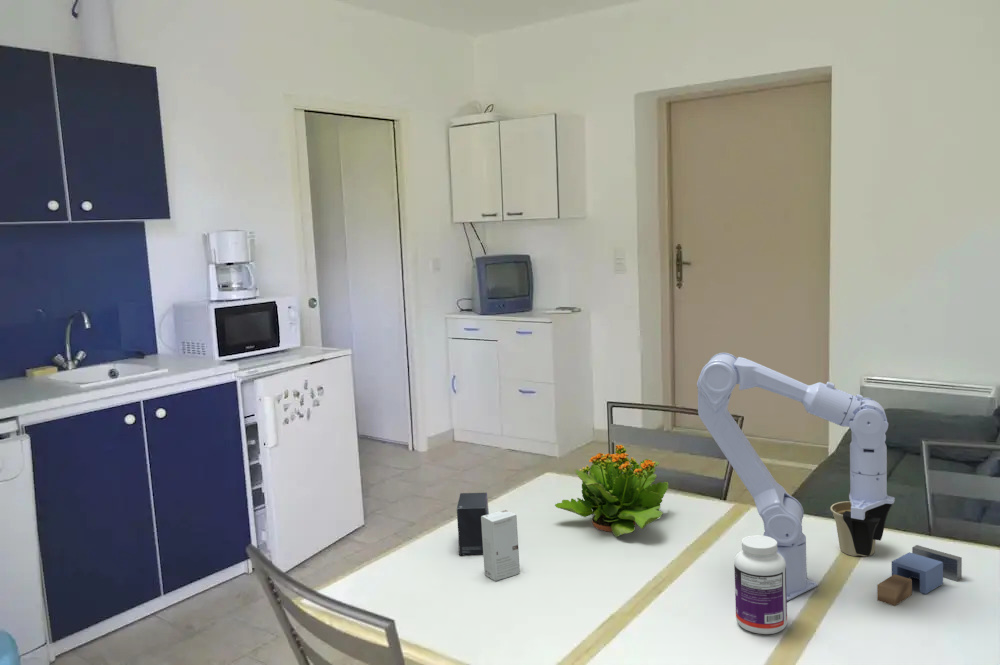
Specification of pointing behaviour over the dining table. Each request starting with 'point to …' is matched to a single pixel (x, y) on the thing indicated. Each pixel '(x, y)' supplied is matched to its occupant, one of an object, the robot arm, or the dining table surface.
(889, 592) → the walnut peg
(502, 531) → the skincare box
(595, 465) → the potted flower
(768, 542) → the pill bottle
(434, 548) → the dining table surface
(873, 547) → the flower pot
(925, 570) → the socket block
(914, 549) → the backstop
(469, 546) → the small box
